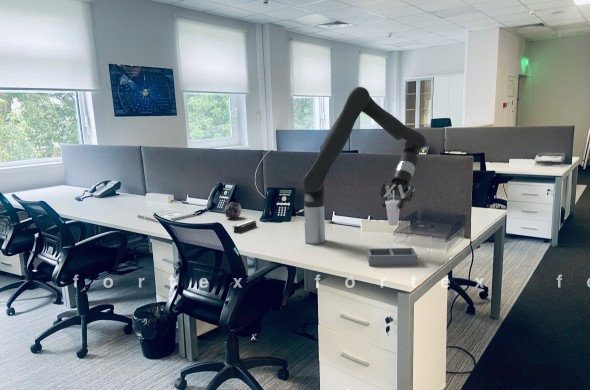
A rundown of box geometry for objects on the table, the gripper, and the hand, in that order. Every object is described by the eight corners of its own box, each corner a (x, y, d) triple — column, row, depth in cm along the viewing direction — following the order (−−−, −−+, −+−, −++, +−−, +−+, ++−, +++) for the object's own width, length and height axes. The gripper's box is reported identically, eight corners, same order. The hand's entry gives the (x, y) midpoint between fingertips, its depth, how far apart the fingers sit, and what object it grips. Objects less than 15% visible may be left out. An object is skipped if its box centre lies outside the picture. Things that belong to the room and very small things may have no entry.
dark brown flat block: (223, 234, 222) (223, 226, 222) (253, 223, 243) (253, 216, 242) (244, 237, 214) (244, 229, 214) (274, 226, 235) (273, 218, 234)
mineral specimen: (235, 220, 248) (234, 204, 246) (221, 219, 253) (220, 203, 252) (245, 217, 256) (244, 201, 255) (231, 215, 262) (230, 200, 260)
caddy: (369, 266, 164) (369, 256, 163) (367, 258, 173) (367, 248, 172) (417, 265, 162) (417, 255, 161) (412, 257, 171) (412, 247, 171)
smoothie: (404, 223, 174) (403, 189, 171) (396, 226, 169) (396, 192, 166) (390, 221, 178) (389, 188, 175) (382, 224, 173) (381, 191, 171)
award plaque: (172, 210, 288) (171, 207, 287) (196, 216, 267) (196, 212, 267) (137, 217, 270) (137, 214, 270) (161, 224, 250) (160, 220, 249)
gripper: (384, 168, 180) (372, 200, 173) (417, 169, 171) (405, 203, 164) (390, 178, 185) (378, 210, 178) (422, 180, 176) (411, 214, 169)
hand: (391, 207), depth 171 cm, fingers closed on smoothie, 6 cm apart
